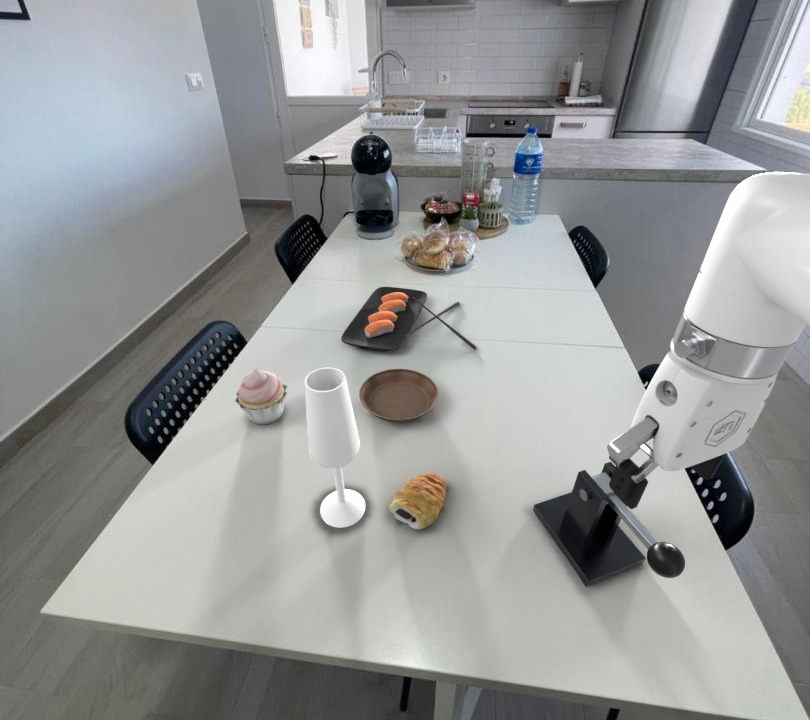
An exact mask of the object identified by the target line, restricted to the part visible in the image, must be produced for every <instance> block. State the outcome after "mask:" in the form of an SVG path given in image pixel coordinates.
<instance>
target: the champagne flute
mask: <svg viewBox="0 0 810 720" xmlns="http://www.w3.org/2000/svg"><path fill="white" fill-rule="evenodd" d="M304 397H305V414H306V415H305V416H306V429H307V430H306V434H307V450H308V451H307V452H308V454H309V457H310V458H311V460H312V461H313V462H314V463H316V464H317V465H318V466H320V467H322V468H325V469H329V470H333V477H334V478H333V479H334V484H335V490H334V491H333V492H331V493H330V494H328V495H327V496H326V497H325V498H324V499H323V500H322V502H321V504H320V508H319V512H320V513H319V515H320V517H321V519H322V521H323V522H324V523H325V524H327V525H328V526H330V527H333V528H337V529H340V528H342V529H344V528H348V527H352V526H354V525H355V524H357V523H358V522H359V521H361V519H362V517H364V514H365V511H366V508H367V507H366V501H365V498H364V497H363V495H362V494H360V493H359V492H358V491H356V490H353V489H350V488H349V489H348V488H345V483H344V474H343V468H344V467H346V466H347V465H349V464H351V463H352V462H353V460H354V459H355V458H356V457H357V456H358V453H359V452H360V448H361V440H360V435H359V431H358V427H357V423H356V418H355V414H354V409H353V404H352V400H351V396H350V391H349V387H348V381H347V377H346V374H345V372H344V371H342V370H341V369H339V368H337V367H330V366H329V367H327V366H325V367H319V368H316V369H314V370H312V371H310V372H309V373H308V374H307V375H306V376H305V378H304Z"/></svg>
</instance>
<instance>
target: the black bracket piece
mask: <svg viewBox="0 0 810 720" xmlns="http://www.w3.org/2000/svg"><path fill="white" fill-rule="evenodd" d="M615 467H616V465H615V464H614V463H613V462H612V461H608V462H605V463H604V464H603V467H602V470H601V473H604V472H605V473H606V474H607V475H608V476H609V477H610V478H611V477H612V475H613V472H614V470H615ZM601 473H600V474H601ZM618 498H619V497H618ZM619 499H620V498H619ZM607 500H608V495H607V494H606V493H605V492H604V491H603V490H602V489H601V487H600V486H599V485H598V484H597V483H596V482H595V481H594V480H593V478H592V476H591V475H590V474H589V472H588V471H587V470H586V469H583V470H580V471H578V472H577V475H576V479H575V482H574V485H573V487H572V491H571V492H568V493H564V494H562V495H559V496H555V497H553V498H549V499H547V500H544V501H542V502H537V503H535V504H534V505H533V508H532V511H533V513H534V514H535V516H536V517H537V518H538V520H540V522H541V525H542V526H543V527H544V528H545V530H546V531H547V533H548V534H549V536H550V537H551V539H552V540H553V542H554V543H555V544H556V546H557V547H558V548H559V550H560V551H561V553H562V554H563V555H564V557H565V559H566V560H567V562H568V563H569V564H570V565H571V567H572V568H573V570H574V572H575V573H576V574H577V576H578V578H579V579H580V580H581V582H582V583H583V584H584V586H585V587H588V586H589V587H590V586H591V585H593V584H597V583H599V582H601V581H603V580H607V579H608V578H611V577H614V576H615V575H618V574H621V573H623V572H625V571H628V570H631V569H632V568H636V567H638V566H640V565H643V564H644V562H645V561H646V560H647V557H646V556H645V555H644V554H643V553H642V552H641V550H639V548H638V547H637V546H636V544H634V542H633V541H632V540H631V538H630V537H629V536H628V535H627V534H626V533H625V531H624V530H623V529H622V528H621V527H620V526H619V525H620V523H621V521H622V519H621V518H620V516H619V515H618V514H617V513H616V512H615V511H614V510H613V508H612V507H611V506H610V505H609V504H606V502H607ZM620 500H621V499H620ZM621 501H622V500H621ZM622 502H623V501H622ZM623 503H624V502H623ZM624 504H625V503H624ZM625 505H626V504H625ZM626 506H627V505H626ZM627 507H628V506H627Z"/></svg>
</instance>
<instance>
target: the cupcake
mask: <svg viewBox="0 0 810 720" xmlns="http://www.w3.org/2000/svg"><path fill="white" fill-rule="evenodd" d="M243 377H244V378H243V380H242V382H241V383H240V385H239V386H238V390H237V391H236V392H235V395H236V397H235V399H234V403H236V405H238V407H239V408H240V409H241V410H242V411H243V412H244V413H245V415H246V417H247V418H248V420H249V421H250V422H252V423H254V424H256V425H268V424H272V423H274V422H276V421H278V420H279V419H280V418H281V417H282V415H283V414H284V410H285V401H286V398H287V396H288V392H287V390H288V387H289V385H287V384H283V380H282V379H281V378H280V377H279V376H278V375H276V374H274V373H273V372H271V371H267V370H260V369H258V368H255V369H253V371H250V372H248V373H246V375H244V376H243Z"/></svg>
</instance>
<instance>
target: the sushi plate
mask: <svg viewBox="0 0 810 720" xmlns="http://www.w3.org/2000/svg"><path fill="white" fill-rule="evenodd" d="M427 299H428V294H427V292H425V291H422V290H419V289H413V288H405V287H394V286H379V287H378V288H376V289H374V291H373V292H372V293H371V295H370V296H369V297H368V299H367V300H366V301H365V303H364V304H363V305H362V307H361V308H360V309H359V311H358V312H357V314H356V315H355V317H354V318H352V321H351V322H349V325H348V326H347V327H346V328H345V330H344V332H342V335H341V337H340V338H341V339H340V340H341V343H343V344H345V345H349V346H353V347H357V348H364V349H371V350H378V351H386V352H387V351H388V352H393V351H397V350H399V349H401V348H402V347H403V345H404V344H405V343H406V341H407V339H408V337H409V336H410V335H412V334H414V333H415V332H416V331H417V330H419V329H421V328H422V327H424V326H426V325H427V324H429V323H430V322H432V321H434V320H435V319H437V320H438V321H440V322H441V323H442V324H443V325H444V326H445V327H447V329H449V330H450V331H451V332H452V333H454V334H455V335H456V336H457V337H458V338H460V339H461V340H462V341H463V342H464V343H465V344H467V345H468V346H469V347H470V348H471V349H473V350H477V346H476V345H475V344H474V343H473V342H471V341H470V340H468V339H467V338H466V337H465V336H463V335H462V334H461V333H460V332H459V331H458V330H456V329H455V328H453V327H452V326H451V325H449V324H448V323H446V322H445V321H444V320H443V319H441V318H440V317H441V316H442V315H444V314H446V313H447V312H449V311H451V310H453V309H454V308H456V307H457V306H459V305H460V301H456V302H455V303H453V304H452V305H450V306H448V307H447V308H445V309H443V310H442V311H441V312H439V313H437V314H436V313H434V312H433V311H432V310H431V309H429V308H428V307H426V306H425V303H426V302H427ZM423 309H425V310H426V311H427V312H428V313H430V314H431V315H432V316H433V317H431V318H430V319H428V320H427V321H425V322H424V323H422V324H420V325H419V326H418V327H416V328H414V329H413V327H414V325H415V323H416V321H417V319H418V318H419V315H420V313H421V311H422V310H423ZM412 329H413V330H412Z"/></svg>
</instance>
